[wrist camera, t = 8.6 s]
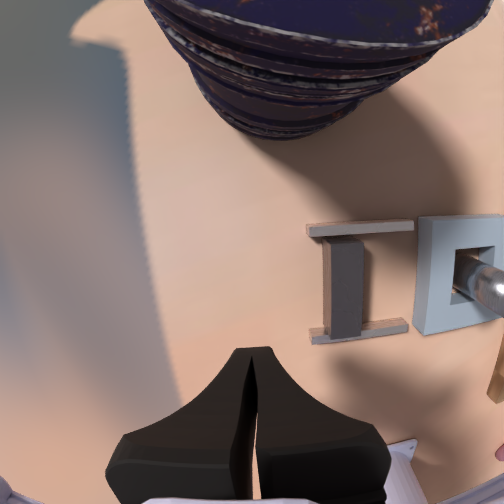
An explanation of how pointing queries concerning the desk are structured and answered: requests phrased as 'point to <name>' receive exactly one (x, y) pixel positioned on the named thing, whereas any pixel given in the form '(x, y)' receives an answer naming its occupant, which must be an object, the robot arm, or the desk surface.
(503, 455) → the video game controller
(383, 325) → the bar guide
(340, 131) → the desk surface
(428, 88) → the desk surface
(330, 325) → the bar
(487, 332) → the desk surface
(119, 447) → the robot arm
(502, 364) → the mount block
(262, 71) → the storage jar
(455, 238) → the socket block
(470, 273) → the lock pin
